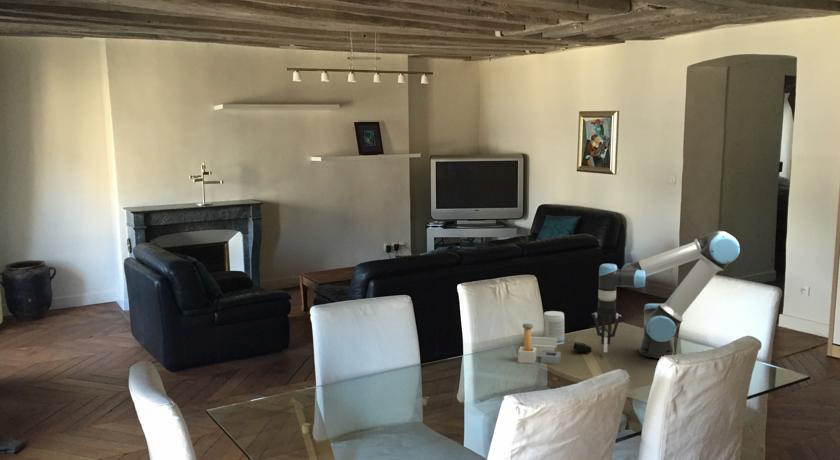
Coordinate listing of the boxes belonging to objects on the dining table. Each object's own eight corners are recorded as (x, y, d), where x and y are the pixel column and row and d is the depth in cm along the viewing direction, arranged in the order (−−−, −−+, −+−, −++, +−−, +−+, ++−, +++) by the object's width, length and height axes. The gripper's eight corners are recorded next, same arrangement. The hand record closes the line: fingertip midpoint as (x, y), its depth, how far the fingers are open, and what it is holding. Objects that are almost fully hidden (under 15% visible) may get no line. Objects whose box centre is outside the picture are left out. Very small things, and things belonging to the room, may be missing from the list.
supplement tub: (568, 343, 339) (568, 313, 337) (556, 347, 333) (556, 316, 331) (551, 339, 346) (551, 309, 344) (539, 343, 340) (539, 313, 338)
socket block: (536, 358, 316) (536, 347, 316) (534, 363, 310) (534, 352, 309) (520, 357, 318) (520, 346, 318) (518, 362, 311) (518, 351, 311)
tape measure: (576, 353, 320) (578, 345, 320) (570, 348, 327) (571, 340, 327) (590, 355, 322) (592, 347, 322) (583, 350, 328) (585, 342, 328)
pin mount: (560, 358, 316) (561, 352, 316) (559, 364, 308) (559, 357, 308) (542, 357, 318) (542, 350, 318) (540, 362, 310) (540, 356, 310)
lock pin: (533, 359, 315) (533, 324, 313) (531, 362, 311) (531, 326, 309) (523, 358, 316) (523, 323, 314) (521, 361, 312) (522, 325, 310)
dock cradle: (556, 348, 331) (556, 337, 331) (554, 357, 318) (554, 346, 317) (528, 346, 335) (528, 336, 334) (524, 355, 321) (524, 344, 320)
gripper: (622, 298, 317) (620, 350, 320) (592, 296, 321) (590, 348, 324) (622, 301, 310) (620, 355, 313) (591, 300, 314) (590, 352, 317)
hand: (605, 351), depth 318 cm, fingers closed
